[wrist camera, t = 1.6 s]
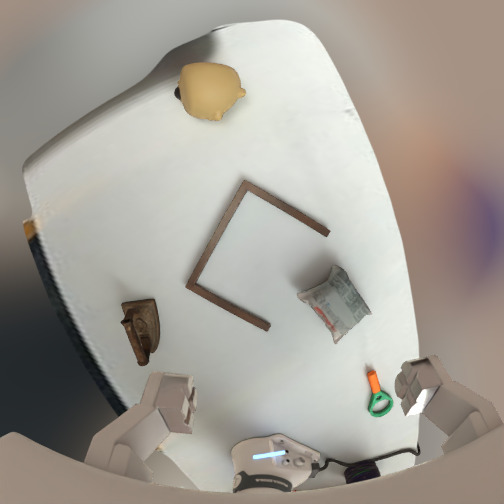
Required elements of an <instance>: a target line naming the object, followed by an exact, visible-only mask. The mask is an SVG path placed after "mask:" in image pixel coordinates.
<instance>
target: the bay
mask: <svg viewBox="0 0 504 504" xmlns="http://www.w3.org/2000/svg"><path fill="white" fill-rule="evenodd" d="M247 190H248V191H250V192H251V193H253V194H255V195H257V196H258V197H260V198H262V199H264V200H265V201H267V202H269V203H271V204H272V205H274V206H276V207H277V208H279V209H281V210H282V211H284V212H286V213H288V214H289V215H291V216H293V217H294V218H296V219H298V220H299V221H301V222H303V223H304V224H306V225H307V226H309V227H311V228H312V229H314V230H316V231H317V232H319V233H320V234H322V235H324V236H325V237H327V236H328V234H329V233H330V230H328V229H327V228H325V227H323V226H322V225H320V224H319V223H317V222H315V221H314V220H312V219H310V218H309V217H307V216H306V215H304V214H302V213H301V212H299V211H297V210H296V209H294V208H292V207H291V206H289V205H287V204H286V203H284V202H282V201H281V200H279V199H277V198H275V197H274V196H272V195H270V194H269V193H267V192H265V191H263V190H262V189H260V188H258V187H256V186H255V185H253V184H251V183H249V182H247V181H246V180H244V181H243V183H242V185H241V186H240V188H239V190H238V192H237V193H236V195H235V197H234V199H233V200H232V202H231V204H230V206H229V207H228V209H227V211H226V213H225V214H224V216H223V218H222V220H221V222H220V223H219V225H218V227H217V229H216V231H215V232H214V234H213V236H212V238H211V240H210V241H209V243H208V245H207V247H206V249H205V251H204V252H203V254H202V256H201V258H200V260H199V262H198V264H197V266H196V267H195V269H194V271H193V273H192V275H191V277H190V279H189V281H188V283H187V284H186V286H185V287H186V288H187V289H189V290H191V291H193V292H194V293H196V294H198V295H200V296H201V297H203V298H205V299H207V300H209V301H210V302H212V303H214V304H216V305H218V306H219V307H221V308H223V309H225V310H227V311H229V312H230V313H232V314H234V315H236V316H238V317H240V318H242V319H244V320H245V321H247V322H249V323H251V324H253V325H255V326H257V327H259V328H261V329H263V330H265V331H268V330H269V328H270V327H271V325H270V324H269V323H267V322H265V321H263V320H261V319H259V318H257V317H255V316H253V315H252V314H250V313H248V312H246V311H244V310H242V309H240V308H238V307H237V306H235V305H233V304H231V303H229V302H227V301H226V300H224V299H222V298H220V297H218V296H217V295H215V294H213V293H211V292H209V291H208V290H206V289H204V288H202V287H201V286H199V285H197V284H195V283H196V281H197V279H198V278H199V276H200V274H201V272H202V270H203V268H204V266H205V265H206V263H207V261H208V259H209V257H210V255H211V254H212V252H213V250H214V248H215V246H216V245H217V243H218V241H219V239H220V237H221V236H222V234H223V232H224V230H225V228H226V227H227V225H228V223H229V221H230V220H231V218H232V216H233V214H234V213H235V211H236V209H237V207H238V206H239V204H240V202H241V200H242V199H243V197H244V195H245V193H246V192H247Z"/></svg>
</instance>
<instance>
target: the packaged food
mask: <svg viewBox="0 0 504 504" xmlns="http://www.w3.org/2000/svg"><path fill="white" fill-rule="evenodd" d="M297 296H298V298H299V299H300V300H302V301H303V302H304V303H307V304H309V305H311V307H312V308H313V309H314V311H315V312H316V313H317V314H318V316H319V317H320V318H321V319H322V320H323V321H324V322H325V324H326V326H327V328H328V329H329V330H330V332H331V333H332V336H333V341H334V343H335V344H337V342H338V341H339V340H340V339H341V338H342V337H343V335H346V334H347V333H348V331H349V330H350V329H351V328H352V327H354V326H355V325H356V324H357V323H358V322H359V321H360V320H361V319H362V318H363V317H364V316H365V315H366V314H367V315H371V314H372V313H371V311H370V309H369V308H368V306H367V305H366V303H365V302H364V300H363V299H362V297H361V296H360V294H359V293H358V292H357V290H356V289H355V287H354V286H353V284H352V283H351V281H350V280H349V278H348V275H347V273H346V272H345V271H344V269H342V268H341V267H338V266H337V265H333V267H332V270H331V274H330V276H329V278H328V279H327V280H326V282H324V283H323V284H321V285H319V286H316V287H314V288H311V289H309V290H307V291H304V292H301V293H300V292H299V293H297Z"/></svg>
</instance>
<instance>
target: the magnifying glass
mask: <svg viewBox="0 0 504 504" xmlns="http://www.w3.org/2000/svg"><path fill="white" fill-rule="evenodd" d="M367 376H368V379H369V383H370V386H371V389H372V392H373V394H372V397H371V401H370V404H369V407H368V410H369V413H370V414H371V415H372V416H373V417H381V416H384V415H385V414H387V413H388V412H389V411H390V410H391V408H392V407H393V400H392V398H391V397H390V396H389V395H388V394H386V393H384V392H383V391H381V390H380V385H379V382H378V378H377V374H376V371H371V372H369V373H368V374H367ZM380 395H381V396H380ZM378 396H380V397H379V398H377V397H378ZM384 399H388V400H389V401H390V402H389V405H388V406H387V407H386V408H385V409H384V410H382V411H380V412H376V413H375V412H372V408H373V407H374V405H375V404H376V403H378V402H379V401H381V400H384Z"/></svg>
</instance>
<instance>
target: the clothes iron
mask: <svg viewBox="0 0 504 504" xmlns="http://www.w3.org/2000/svg"><path fill="white" fill-rule="evenodd" d="M121 306H122V309H123V312H124V315H125V318H124V320H122V321H121V324H122V325H123V326H124V327H125V330H126V333H127V335H128V338H129V341H130V343H131V346H132V348H133V351H134V353H135V355H136V358H137V360H138V361H137V363H138V364H139V365H140V366H145V365H147V364H148V362H149V356H150V352H151V353H154V352H155V351H156V349H157V347H158V344H159V339H160V323H159V316H158V311H157V306H156V302H155V299H146V300H138V301H131V302H125V303H122V304H121ZM141 344H142V345H141Z"/></svg>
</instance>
